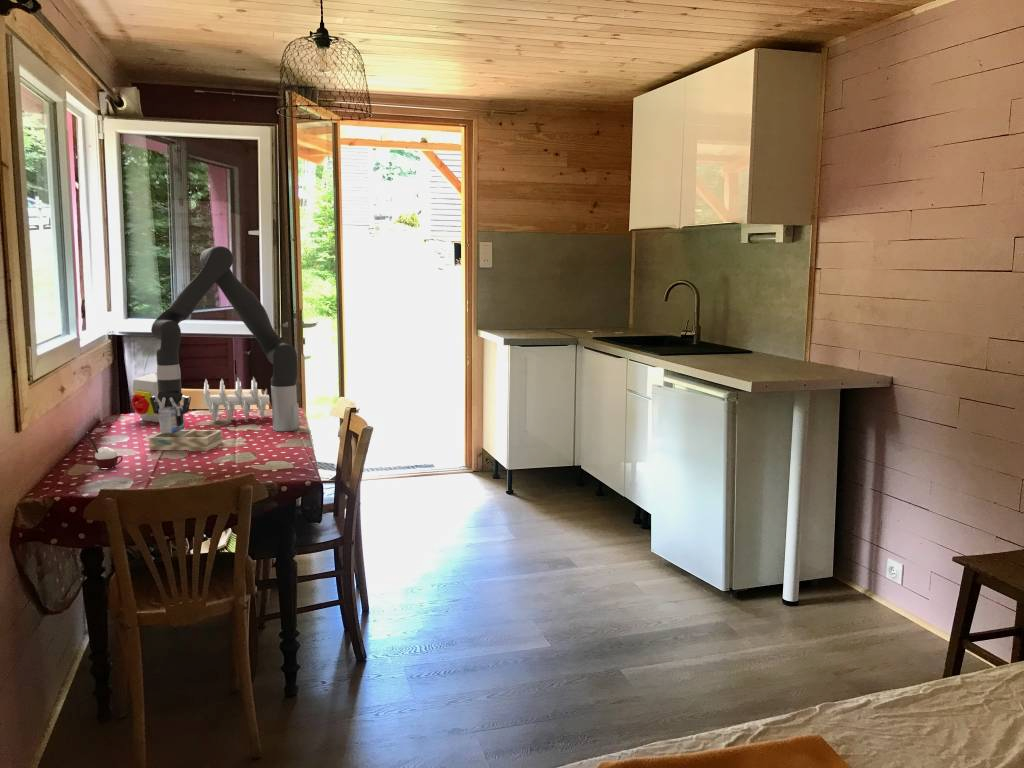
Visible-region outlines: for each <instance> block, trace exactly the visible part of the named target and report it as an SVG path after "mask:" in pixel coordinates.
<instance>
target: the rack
mask: <svg viewBox="0 0 1024 768" xmlns="http://www.w3.org/2000/svg"><path fill="white" fill-rule="evenodd" d="M148 442H149V443H148V444H149V451H150V450H187V451H186V452H208V451H210V450H212V449H213V448H215V447H217V446H219V445H220V444H223V430H222V429H221V430H220V429H219V430H218V429H217V430H216V429H201V430H200V429H182V430H180V431H177V432H174V433H160V432H159V433H156V434H154V435H151V436H150V437H148ZM188 450H189V451H188Z"/></svg>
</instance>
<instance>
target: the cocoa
mask: <svg viewBox="0 0 1024 768" xmlns="http://www.w3.org/2000/svg"><path fill="white" fill-rule="evenodd" d="M85 433H86V435H87V437H88V439H89V441H90V443H91V445H92V447H93V448H94V450H95V453H94V457H95V458H94V460H95V463H96V466H97V468H98V469H100V468H112V467H114V468H115V467H116V466H118V465H119V464H121V463H122V461H123V459H124V457H123V456H122V455H118V452H117V451H116V450H115V449H113V448H111V447H108V446H103V447H99V448H97V447H96V445H95V442H94V441H93V438H92V437H91V434H90V433H89V432H88V431H86V432H85ZM119 458H120V460H119V461H118V459H119ZM112 469H113V468H112Z"/></svg>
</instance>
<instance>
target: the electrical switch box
mask: <svg viewBox="0 0 1024 768" xmlns="http://www.w3.org/2000/svg"><path fill="white" fill-rule="evenodd" d="M132 391H133V395H132V398H131V404H132V407H133V410H134V411H135V412H136V413H137V414H138V415H139V417H140V418H141V420H142V421H145V422H151V421H152V423H157V422H159V414H155V413H154V411H153V408H152V405H151V402H150V398H151V397H153V396H158V393H159V392H158V383H157V372H153V373H150V374H146V375H143V376H139V377H137V378H134V379H133V381H132ZM181 401H182V400H181ZM181 401H180V403H181ZM158 404H159V407H160V406H161V401H160V400H159V399H158ZM181 404H182V403H181Z"/></svg>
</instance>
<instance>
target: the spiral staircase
mask: <svg viewBox="0 0 1024 768" xmlns="http://www.w3.org/2000/svg"><path fill="white" fill-rule="evenodd" d="M204 379H205V380H204V383H203V385H204V386H203V405H204V406H207V408H208V410H209V413H210V415H211V419H212V420H213V421H212V423H213V424H214V423H215V422H216V421H217V420H218V418H219V417H218V415H219V412H220V406H223V408H224V410H225V415H227V419H229V420H228V423H231V422H232V420H233V418H234V411H235V410H236V409H235V406H240V408H241V409H242V410H243V415H244V420H245V421H247V420H248V419H249V417H250V416H249V415H250V412H251V406H252V405H253V406H256V408H257V410H258V411H259V415H260V420H261V421H262V420H263V419H264V417H265V411H266V406H269V405H270V395H269V394H268V388H265V390H264V392H263V393H264V394H259V389H258V382H257V381H256V378H255V377H254V376H252V379H251V383H250V385H251V388H250V389H249V391H248V394H243V388H242V381H240V379H239V377H237V379H236V381H235V390H234V391H233V393H232V394H227V393H226V385H225V384H224V383H225V382H224V379H223V378H221V380H220V381H219V390H218V392H217V394H211V393H210V385H209V384H208V380H207V378H204ZM262 418H263V419H262ZM246 419H247V420H246Z"/></svg>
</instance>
